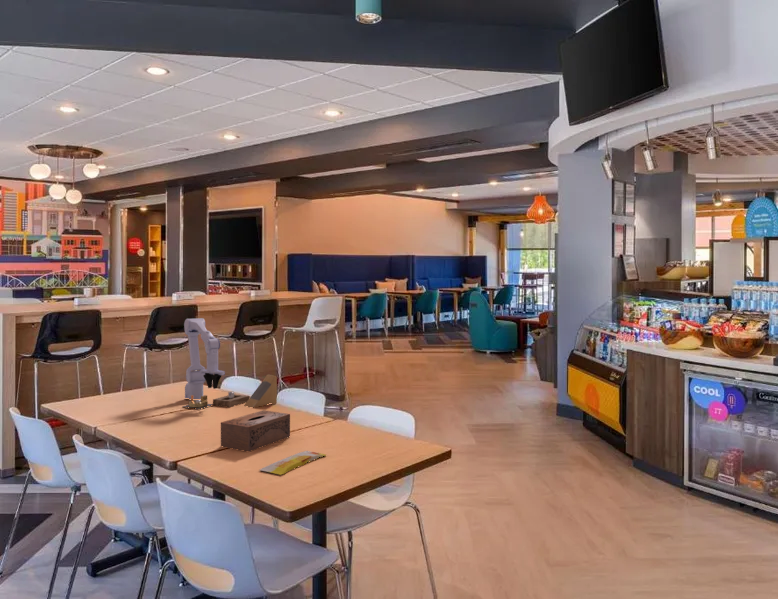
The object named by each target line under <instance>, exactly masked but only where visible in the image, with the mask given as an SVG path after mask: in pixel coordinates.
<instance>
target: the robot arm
mask: <svg viewBox="0 0 778 599" xmlns="http://www.w3.org/2000/svg"><path fill="white" fill-rule="evenodd" d="M183 326H184V327H183V329H184V333H185V335H187V339H188V349H189V359H190V366H188V367H187V368H186V370H185V372H186V373H185V380H186V382H187V383H186V384H185V385H184V386H185V387H184V398H189V399H191V395H193V399H201V396H204V383H205V382H206V384H207V388H208V389H212V387H213V389H214V390H215V389H218V385H219V382H220V381H221V378H222V376H225V374H226V371H225V370H219V350H220V348H221V341H220V339H219V338H217V337H215V336H214V335H213V334H212V332H211V331H210V330H208V329H207V328H206V320H205V318H203V317H200V318H186V319H185V320H184V323H183ZM199 335H200V339H201V340H202V341H203V344H204V348H205V354H206V366H203V365H202V364H201V358H200V348H199V339H198V337H199Z"/></svg>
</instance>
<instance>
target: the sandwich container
mask: <svg viewBox="0 0 778 599" xmlns="http://www.w3.org/2000/svg"><path fill="white" fill-rule="evenodd" d="M277 384H278V376H276V375H273V374H266V376H265V377H264V378H263V380H262V381H261V382H260V383H259V385H258V387H257V388H256V389H255V390H254V392H253V393H252V395H251V396H249V400H248V401H247V402H246V403H244V405H243V406H244V407H246V406H248V407H247V408H250V407H256V408H259V407H258V406H262V407H264V406H263V405H267V404H269V403H272V404H273V405H277V400H278V398H277V397H278V395H277V394H278V392H277V390H278V385H277ZM269 406H272V405H271V404H270V405H269Z"/></svg>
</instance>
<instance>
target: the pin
mask: <svg viewBox="0 0 778 599" xmlns="http://www.w3.org/2000/svg"><path fill="white" fill-rule="evenodd" d="M227 393H228V400H230V399H233V398H234V394H235V391H228V392H227Z"/></svg>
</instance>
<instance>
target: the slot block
mask: <svg viewBox="0 0 778 599" xmlns="http://www.w3.org/2000/svg"><path fill="white" fill-rule="evenodd" d="M249 398H250V395H244V394H236V393H234V398H233V399H230V400H228V395H224V396H220V397H217V398H213V399H212V404H214V406H216V405H220V406H219V407H224V406H227V407H226V408H232V407H235V406H234V405H236V406H239V405H242V404H245V402H247V401H248V400H249ZM241 403H242V404H241ZM238 404H239V405H238ZM231 406H232V407H231Z"/></svg>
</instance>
